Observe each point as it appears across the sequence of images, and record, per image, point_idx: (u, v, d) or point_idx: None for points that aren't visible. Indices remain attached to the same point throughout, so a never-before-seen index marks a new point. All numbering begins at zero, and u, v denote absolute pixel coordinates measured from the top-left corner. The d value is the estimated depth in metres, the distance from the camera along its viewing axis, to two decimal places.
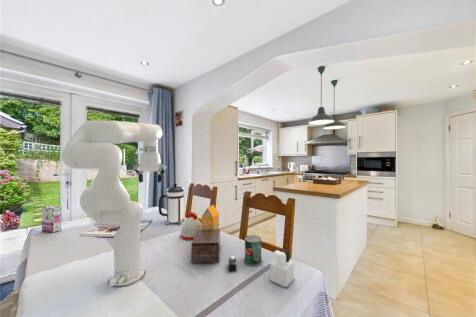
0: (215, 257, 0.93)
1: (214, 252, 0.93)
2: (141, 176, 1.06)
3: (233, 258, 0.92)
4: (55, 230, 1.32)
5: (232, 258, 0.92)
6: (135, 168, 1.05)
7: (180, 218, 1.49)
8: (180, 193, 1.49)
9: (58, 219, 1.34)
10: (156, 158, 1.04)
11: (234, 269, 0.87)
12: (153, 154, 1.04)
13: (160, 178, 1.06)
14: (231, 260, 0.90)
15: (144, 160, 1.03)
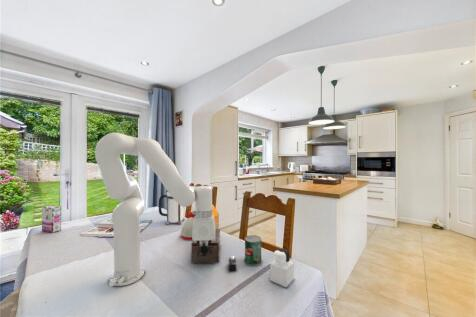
0: (215, 257, 0.93)
1: (214, 252, 0.93)
2: None
3: (233, 258, 0.92)
4: (55, 230, 1.32)
5: (232, 258, 0.92)
6: None
7: (180, 218, 1.49)
8: None
9: (58, 219, 1.34)
10: (213, 224, 0.88)
11: (234, 269, 0.87)
12: (209, 220, 0.87)
13: (207, 250, 0.89)
14: (231, 260, 0.90)
15: (198, 227, 0.87)
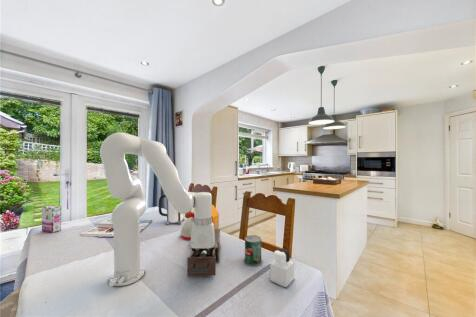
0: (213, 270, 0.82)
1: (212, 264, 0.82)
2: (199, 255, 0.87)
3: (205, 252, 0.90)
4: (55, 230, 1.32)
5: (204, 252, 0.90)
6: (191, 247, 0.87)
7: (180, 218, 1.49)
8: None
9: (58, 219, 1.34)
10: (212, 232, 0.85)
11: None
12: (208, 227, 0.85)
13: None
14: (202, 254, 0.89)
15: (197, 235, 0.85)
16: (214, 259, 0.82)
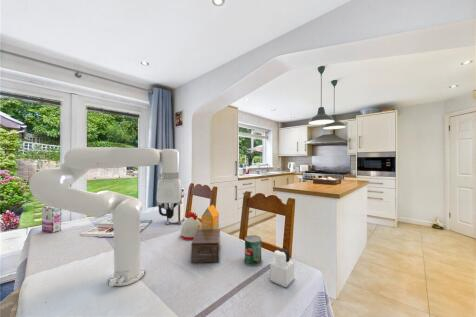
0: (215, 256, 0.93)
1: (214, 251, 0.93)
2: None
3: None
4: (55, 230, 1.32)
5: None
6: (160, 203, 0.88)
7: (180, 218, 1.49)
8: None
9: (58, 219, 1.34)
10: (178, 187, 0.86)
11: None
12: (174, 182, 0.86)
13: (172, 213, 0.88)
14: None
15: (163, 189, 0.85)
16: (216, 247, 0.93)
